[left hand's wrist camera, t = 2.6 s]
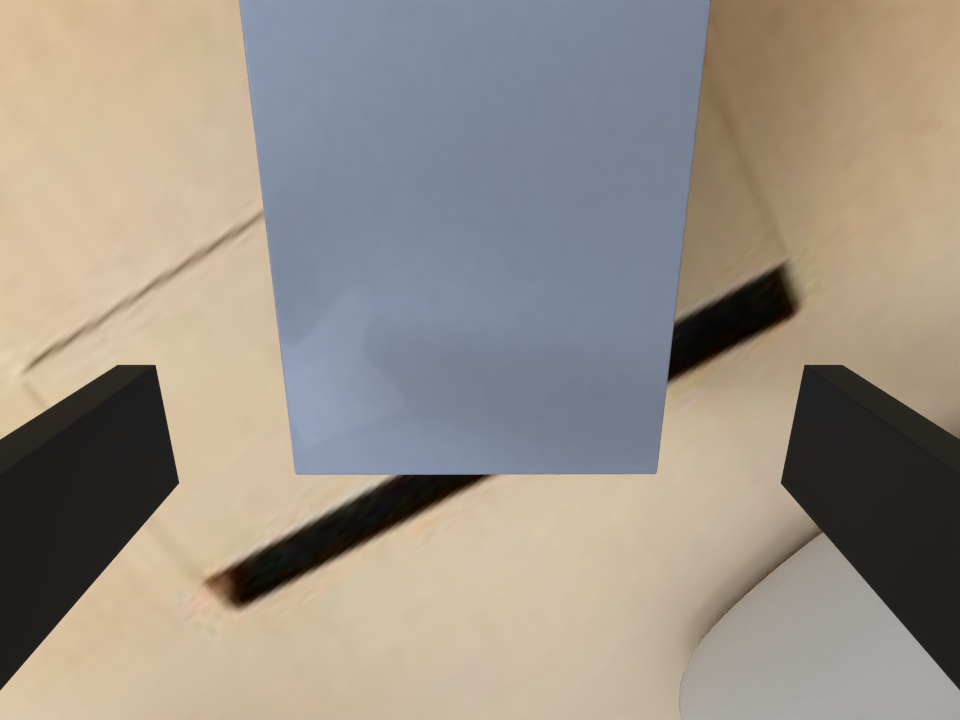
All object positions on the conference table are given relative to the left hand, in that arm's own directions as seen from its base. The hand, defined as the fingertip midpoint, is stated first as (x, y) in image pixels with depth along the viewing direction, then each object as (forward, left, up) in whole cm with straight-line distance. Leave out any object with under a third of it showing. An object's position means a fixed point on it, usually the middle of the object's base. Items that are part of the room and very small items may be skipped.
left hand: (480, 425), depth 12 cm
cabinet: (+6, +1, -15) cm, 16 cm away
